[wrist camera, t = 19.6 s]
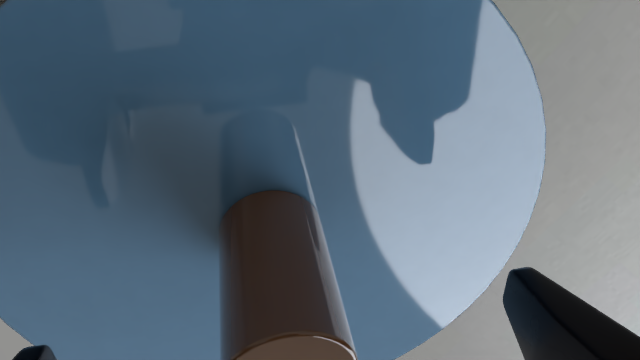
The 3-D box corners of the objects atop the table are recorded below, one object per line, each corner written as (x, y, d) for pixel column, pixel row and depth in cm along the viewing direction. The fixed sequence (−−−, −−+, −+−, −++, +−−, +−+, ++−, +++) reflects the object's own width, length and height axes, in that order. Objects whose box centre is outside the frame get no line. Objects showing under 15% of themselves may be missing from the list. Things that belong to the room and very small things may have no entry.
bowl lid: (72, 402, 16) (24, 602, 12) (-201, -75, 8) (-617, 29, 4) (482, 330, 18) (565, 485, 14) (585, -129, 10) (857, -92, 6)
